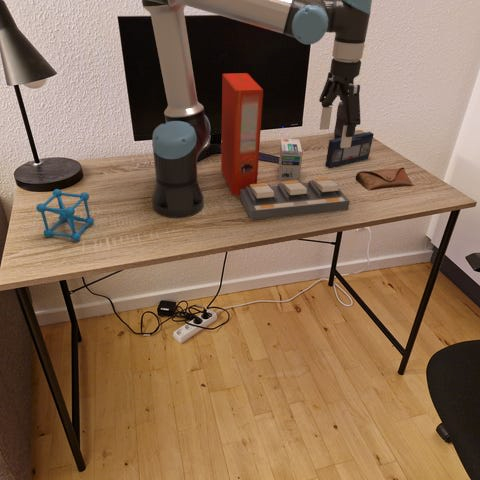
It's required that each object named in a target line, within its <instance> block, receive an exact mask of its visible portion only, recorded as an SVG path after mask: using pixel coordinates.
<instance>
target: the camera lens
mask: <svg viewBox="0 0 480 480" xmlns="http://www.w3.org/2000/svg"><path fill="white" fill-rule="evenodd" d="M336 109H337V110H336V119H335V125H334V126H335V127H334V130H333V137H334V139H337V138H342V133H343V127H344V123H346V120H345V114H344V108H343V103H342V101H341V100H340V101H339V102H338V105H337V108H336ZM349 120H350V119H349ZM357 126H358V125H355V126H354V131H353V135H356V134H355V133H356V127H357Z"/></svg>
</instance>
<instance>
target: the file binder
mask: <svg viewBox="0 0 480 480" xmlns="http://www.w3.org/2000/svg"><path fill="white" fill-rule="evenodd" d="M221 79H222V81H221V82H222V83H221V84H222V86H221V88H222V89H221V90H222V91H221V93H222V94H221V105H222V106H221V147H220V151H221V153H220V155H221V157H220V161H221V163H220V166H221V167H220V171H221V173H222V175H223V177H224V180H225V182H226V184H227V186H228V188H229V191H230V193H231V195H232V196H240V189H246V187H249V188H250V184H258V173H259V172H258V171H259V161H260V158H259V157H260V145H261V144H260V142H261V129H262V114H263V112H262V111H263V102H264V101H263V99H264V89H263V88H262V87H261V86H260V85H259V84H258V82H256V81H255V80H254V78H252V76H251V75H250V74H249V73H248V72H247V73H246V72H244V73H242V72H241V73H239V72H237V73H233V72H232V73H222V78H221Z"/></svg>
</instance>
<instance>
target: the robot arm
mask: <svg viewBox="0 0 480 480" xmlns="http://www.w3.org/2000/svg"><path fill="white" fill-rule="evenodd" d="M372 1H373V0H141V3H142V7H143V8H144V9H145V10H146V11H147V12H148V13H149V14H150V18H151V24H152V27H153V28H152V29H153V34H154V38H155V43H156V48H157V49H156V50H157V54H158V59H159V64H160V70H161V75H162V79H163V85H164V92H165V97H166V102H167V107H166V108H165V110H164V112H163V114H164V118H165V119H164V120H165V123H160V124H159V125H157V126H156V127H155V129H154V130H153V132H152V141H151V142H152V144H151V146H152V150H153V151H152V153H153V160H154V169H155V170H154V171H155V180H156V182H155V185H154V191H153V194H152V196H151V197H152V198H151V205H152V208H153V211H154V212H155V213H157V214H158V215H161V216H163V217H166V218H173V219H175V218H176V219H177V218H179V219H181V218H186V217H190V216H193V215H196V214H197V213H199V212H201V210H203V208H204V205H205V203H204V202H205V201H204V200H205V198H204V194H203V191H202V189H201V186H200V184H199V181H198V157H199V155H200V154H201V153H202V151H203V150H204V148H205V147H206V145H207V143H208V142H209V139H210V136H211V131H212V130H211V123H210V120H209V118H208V117H207V115H206V114H205V108H204V105H203V104H202V103H200V102H199V101H198V96H197V90H196V82H195V76H194V70H193V64H192V58H191V50H190V43H189V37H188V30H187V24H186V16H185V11H184V9H185V7H186V6H188V7H191V8H193V9H196V10H197V9H198V10H201V11H204V12H208V13H212V14H214V15H218V16H221V17H224V18H228V19H230V20H235V21H238V22H241V23H245V24H249V25H252V26H255V27H259V28H262V29H265V30H268V31H273V32H276V33H279V34H282V35H286V36H289V37H291V38H295V39H296V41H298V42H299V43H301V44H304V45H314V44H316V43H318V42H320V40H321V39H323V37H324V36H325V34H326V33H335V35H334V41H333V46H332V47H333V48H332V55H331V56H332V57H333V58H332V59H331V63H330V70H329V72H328V73H327V77H326V81H325V84H324V86H323V88H322V92H321V94H320V97H319V98H318V100H319V101H318V102H320V103H321V107H322V109H321V115H320V123H319V130H320V131H322V130H324V131H325V130H330V124H331V118H332V112H333V111H332V110H333V106H334V104H333V103H334V102H335V100H336V99H337V97H339V100H340V102H341V101H342V103H343V108H344V114H345V120H346V123H344V127H343V133H342V139H341V144H340V147H341V148H348V147H350V146H351V141H352V136H353V131H354V126H355V125H357V126H360V124H361V105H360V102H361V101H360V92H361V85H360V84H354V83H355V81H354V80H355V79H356V78H357V77H359V76H360V72H361V66H362V61H361V60H362V59H363V53H364V49H365V47H366V45H365V42H366V38H367V33H368V27H369V23H370V22H369V21H370V16H371V13H372V12H371V9H372V3H373V2H372ZM349 119H350V120H349Z"/></svg>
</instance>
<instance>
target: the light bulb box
mask: <svg viewBox="0 0 480 480" xmlns="http://www.w3.org/2000/svg"><path fill="white" fill-rule="evenodd" d="M279 145H280V146H279V156H278V157H279V159H278V172H279V181H280V182H283V181H293V180H297V181H299V182H301V181H300V179H301V171H302V160H303V152H304V150H303V148H302V145H301V139H297V138H295V139H293V138H280V144H279Z"/></svg>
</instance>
